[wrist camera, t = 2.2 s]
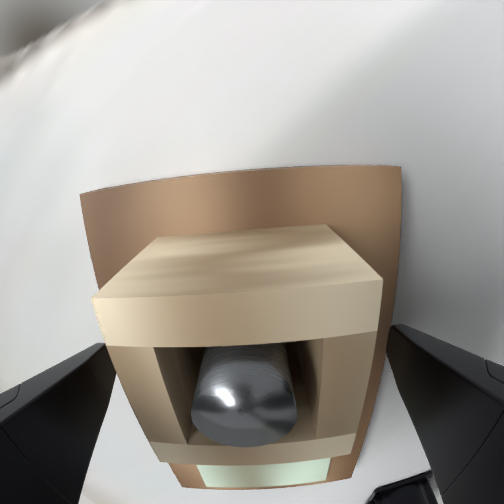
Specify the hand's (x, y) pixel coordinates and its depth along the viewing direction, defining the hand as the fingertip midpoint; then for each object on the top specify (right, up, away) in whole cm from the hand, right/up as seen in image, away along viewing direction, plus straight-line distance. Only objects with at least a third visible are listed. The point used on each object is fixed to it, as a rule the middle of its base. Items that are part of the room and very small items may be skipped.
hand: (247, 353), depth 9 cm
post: (0, +1, +3) cm, 3 cm away
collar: (0, +1, +3) cm, 3 cm away
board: (0, -3, +6) cm, 7 cm away
